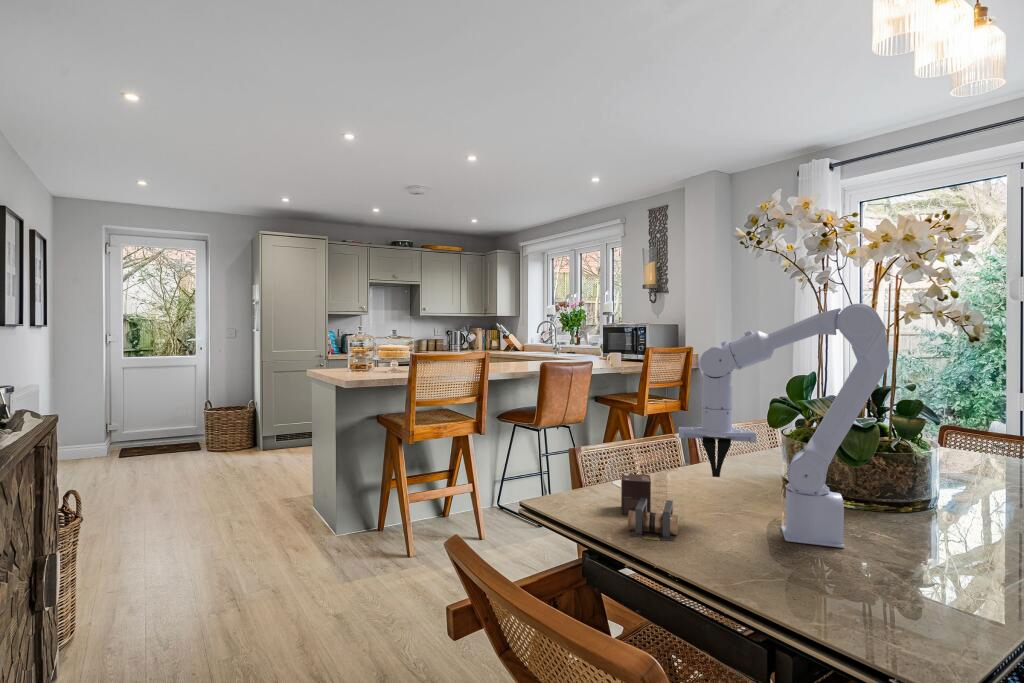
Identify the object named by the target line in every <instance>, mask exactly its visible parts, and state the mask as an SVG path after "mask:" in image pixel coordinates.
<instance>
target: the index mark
mask: <svg viewBox="0 0 1024 683" xmlns="http://www.w3.org/2000/svg"><path fill="white" fill-rule="evenodd" d="M657 537H658V536H650V535H647V536H643V537H642V539H645V540H651V541H659V542H660V541H661V539H660V538H657Z"/></svg>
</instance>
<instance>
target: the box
mask: <svg viewBox="0 0 1024 683" xmlns="http://www.w3.org/2000/svg"><path fill="white" fill-rule="evenodd" d="M651 480H652V479H651V475H650V474H639V473H638V474H635V473H621V490H620V491H621V497H620V498H621V500H620V501H621V506H620V507H621V509H620V510H621V514H622V515H627V516H628V513H629V510H632V511H635V509H636V507H637V504H638V502H639V500H640V498H647V512H652V510H651V509H652V508H651V506H652V505H651V503H652V502H651V499H652V497H651V496H652V487H651V486H652V484H651V483H652V482H651Z"/></svg>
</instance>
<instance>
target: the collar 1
mask: <svg viewBox="0 0 1024 683" xmlns="http://www.w3.org/2000/svg"><path fill="white" fill-rule="evenodd" d="M643 512H647V498H640V500H639V502H638V504H637V507H636V509H635V530H630V532H629V536H630V537H637V538H643V536H648V533H647V532H644V531H643Z"/></svg>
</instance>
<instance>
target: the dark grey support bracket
mask: <svg viewBox="0 0 1024 683" xmlns="http://www.w3.org/2000/svg"><path fill="white" fill-rule="evenodd" d="M662 514H663V534H661V533H657V536H656V537H657V538H660V541H661V540H662V541H670V542H675V540H676V535H671V534H670V514H671V515H674V500H670V499H669V500H668V499H666V500H665V504H664V507H663V510H662Z"/></svg>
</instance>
